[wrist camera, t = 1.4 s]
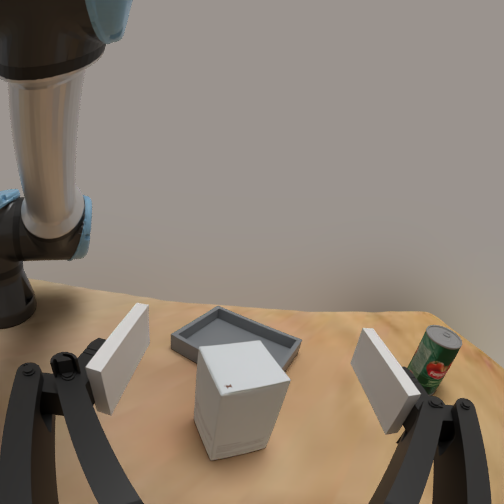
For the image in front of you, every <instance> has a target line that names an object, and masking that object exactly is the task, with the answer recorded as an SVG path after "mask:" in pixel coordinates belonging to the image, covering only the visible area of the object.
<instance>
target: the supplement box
mask: <svg viewBox="0 0 504 504" xmlns="http://www.w3.org/2000/svg"><path fill="white" fill-rule="evenodd" d="M290 381H291V380H290V378H289V377H288V376H287V375H286V374H285V372H284V371H283V370H282V368H281V367H280V366H279V365H278V363H277V362H276V361H275V359H274V358H273V357H272V355H271V354H270V353H269V352H268V350H267V349H266V348H265V346H264V345H263V344H262V342H261V341H260V340H257V341H249V342H240V343H231V344H223V345H213V346H200V347H199V351H198V361H197V375H196V391H195V408H194V420H195V423H196V426H197V429H198V431H199V434H200V436H201V439H202V441H203V444H204V446H205V448H206V451H207V453H208V456H209V458H210V460H217V459H222V458H227V457H232V456H236V455H241V454H245V453H249V452H253V451H256V450H260V449H263V448H265V447H266V446H267V443H268V441H269V438H270V436H271V433H272V430H273V428H274V425H275V423H276V420H277V417H278V414H279V412H280V409H281V406H282V403H283V401H284V398H285V395H286V392H287V389H288V386H289V384H290Z"/></svg>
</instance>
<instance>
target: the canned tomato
mask: <svg viewBox="0 0 504 504" xmlns="http://www.w3.org/2000/svg"><path fill="white" fill-rule="evenodd" d="M461 346H462V340H461V339H460V337H459V336H458V335H457V334H456V333H454V332H453V331H451V330H449V329H447V328H445V327H442V326H438V325H430V326H428V327H427V329H426V332H425V334H424V336H423V338H422V340H421V342H420V344H419V346H418V348H417V350H416V352H415V354H414V356H413V358H412V360H411V362H410V364H409V366H408V367H407V369H409V370H410V371H411V372H412V373H413V375H414V376H415V378H416V379H417V380H418V381H419V383H420V384H421V385H422V387H423V388H424V390H425V391H426V392H427V394H428V395H429V396H430V395H432V394H434V392H435V391H436V389H437V387H438V386H439V384H440V383H441V381H442V379H443V378H444V376H445V374H446V373H447V371H448V369H449V368H450V366H451V364H452V362H453V361H454V359H455V357H456V355H457V353H458V351H459V349H460V347H461Z"/></svg>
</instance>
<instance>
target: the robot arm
mask: <svg viewBox="0 0 504 504" xmlns="http://www.w3.org/2000/svg"><path fill="white" fill-rule="evenodd" d="M132 1H133V0H0V79H1V80H4V81H6V82H8V88H9V89H8V91H9V107H10V119H11V128H12V136H13V142H14V149H15V155H16V160H17V165H18V171H19V175H20V180H21V184H22V188H23V193H24V196H25V197H21V198H20V197H19V196H20V193H19V190H18V189H10V190H4V191H0V328H6V327H11V326H14V325H17V324H19V323H21V322H23V321H25V320H26V319H28V318H29V317H30V316H31V315H32V314H33V313H34V311H35V309H36V299H35V294H34V291H33V289H32V287H31V285H30V282H29V280H28V278H27V276H26V274H25V272H24V269H23V261H38V260H68V261H71V260H73V259H81V258H84V257H85V256H86V254H87V252H88V248H89V241H90V231H91V219H92V202H91V199H90V198H89V197H88V196H84V195H83V194H82V192H81V190H80V189H79V187H78V186H77V185H76V184H75V163H76V141H77V127H78V116H79V108H80V100H81V92H82V86H83V80H84V73H85V69H86V68H88V67H89V66H91V65H92V64H94V63H95V62H96V61H98V60H99V58H101V56H102V55H103V53H104V49H105V46H106V44H110V43H112V42H117V41H119V40H120V39H122V37H123V34H124V31H125V28H126V24H127V20H128V16H129V12H130V8H131V4H132ZM149 344H150V337H149V305H146V304H140V303H136V304H135V306H134V307H133V308H132V309H131V310H130V312H129V313H128V314H127V315H126V316H125V318H124V319H123V320H122V321H121V323H120V324H119V325H118V326H117V327H116V329H115V330H114V331H113V332H112V334H111V335H110V336H109V337H108V339H107V340H105V339H101V338H98V339H96V340H94V341H92V342H91V343H90V344H89V345H88V347H87V349H85V350H84V351H83V353H82V354H81V355H80V356H79V357H78V358H77V357H76V356H75V355H74V354H72V353H69V352H61V353H57V354H56V355H54V356H53V357H52V358H51V361H50V364H51V367H52V370H53V374H50V373H42V371H41V368H40V367H39V365H37V364H35V363H25V364H22V365H21V366H20V367H19V368H18V370H17V372H16V376H15V379H14V383H13V387H12V391H11V395H10V399H9V404H8V409H7V414H6V419H5V425H4V431H3V437H2V445H1V454H0V504H59V502H58V493H57V483H56V469H55V415H62V416H64V417H65V421H66V424H67V427H68V430H69V434H70V437H71V440H72V442H73V445H74V448H75V451H76V454H77V456H78V459H79V461H80V464H81V466H82V469H83V471H84V474H85V476H86V478H87V481H88V483H89V485H90V487H91V489H92V491H93V494H94V496H95V498H96V500H97V502H98V504H144V503H143V502H142V500H141V499H140V497H139V496H138V494H137V493H136V491H135V489H134V488H133V486H132V485H131V483H130V481H129V479H128V478H127V476H126V474H125V473H124V471H123V469H122V467H121V465H120V463H119V462H118V460H117V458H116V456H115V454H114V452H113V450H112V448H111V446H110V444H109V442H108V440H107V438H106V435H105V433H104V431H103V429H102V427H101V424H100V422H99V420H98V417H97V415H96V413H95V410H94V408H93V405H94V403H95V405H96V409H97V411H99V412H102V413H105V414H108V415H112V413H113V411H114V409H115V407H116V405H117V404H118V402H119V400H120V398H121V396H122V394H123V392H124V390H125V388H126V386H127V384H128V382H129V381H130V379H131V377H132V375H133V373H134V371H135V369H136V368H137V366H138V364H139V362H140V360H141V358H142V357H143V355H144V353H145V351H146V349H147V347H148V346H149ZM351 365H352V367H353V369H354V371H355V373H356V375H357V377H358V379H359V381H360V383H361V385H362V387H363V389H364V391H365V393H366V395H367V397H368V399H369V401H370V403H371V406H372V408H373V410H374V412H375V414H376V416H377V418H378V420H379V422H380V424H381V426H382V428H383V431H384V433H385V435H386V434H392V433H398V431H399V430H400V428H401V427H402V425H403V426H404V428H405V431H404V432H403V434H402V435H401V437H400V438H399V440H398V441H397V442H396V443H397V444H398V446H397V448H396V450H395V453H394V455H393V457H392V459H391V461H390V464H389V466H388V468H387V470H386V472H385V474H384V476H383V478H382V480H381V482H380V484H379V486H378V487H377V489H376V491H375V493H374V495H373V497H372V498H371V500H370V502H369V503H368V504H419V502H420V499H421V497H422V494H423V491H424V488H425V486H426V483H427V480H428V476H429V473H430V470H431V467H432V463H433V460H434V481H433V501H432V504H491V491H490V481H489V473H488V466H487V460H486V454H485V449H484V444H483V439H482V434H481V430H480V425H479V421H478V417H477V414H476V410H475V406H474V404H473V403H472V402H471V401H470V400H468V399H465V398H460V399H458V400H457V401H456V403H455V404H454V405H445V404H444V402H443V401H442V400H441V399H440V398H438V397H435V396H429V395H428V394H427V392H426V391H425V390H424V388H423V387H422V385H421V384H420V383H419V381H418V380H417V379H416V378H415V376H414V375H413V373H412V372H411V371H410V370H409V369H407V368H406V367H401V365H400V364H399V363H398V361H397V360H396V359H395V357H394V356H393V355H392V353H391V352H390V350H389V349H388V348H387V346H386V345H385V344H384V342H383V341H382V340H381V338H380V337H379V336H378V335H377V333H376V332H375V331H374V329H373V328H362V331H361V334H360V337H359V340H358V343H357V346H356V349H355V352H354V355H353V358H352V360H351Z"/></svg>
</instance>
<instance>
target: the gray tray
mask: <svg viewBox="0 0 504 504" xmlns="http://www.w3.org/2000/svg"><path fill="white" fill-rule="evenodd" d="M257 340H260V341H261V342H262V344H263V345H264V346H265V348H266V349H267V350H268V352H269V353H270V354H271V355H272V357H273V358H274V359H275V361H276V362H277V363H278V365H279V366H280V367H281V368H282V370H283V371H284V372H285V371H286V370H287V368H288V367H289V365H290V364H291V362H292V361H293V359H294V358H295V357H296V355H297V354H298V351H299V348H300V345H301V342H302V340H301V339H299V338H296V337H294V336H291V335H288V334H286V333H283V332H281V331H278V330H275V329H273V328H270V327H268V326H265V325H263V324H260V323H258V322H256V321H253V320H251V319H248V318H246V317H243V316H241V315H239V314H236V313H234V312H232V311H229V310H227V309H225V308H222V307H220V306H217V307H215V308H213V309H212V310H210V311H208V312H207V313H205V314H204V315H202V316H200V317H199V318H197V319H195V320H194V321H192V322H190V323H189V324H187V325H186V326H184V327H182V328H181V329H179V330H177V331H176V332H174V333H172V334H171V349H173V350H175V351H176V352H178V353H180V354H181V355H183V356H185V357H187V358H188V359H190V360H192V361H194V362H195V363H197V361H198V351H199V347H200V346H213V345H223V344H231V343H240V342H249V341H257Z"/></svg>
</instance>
